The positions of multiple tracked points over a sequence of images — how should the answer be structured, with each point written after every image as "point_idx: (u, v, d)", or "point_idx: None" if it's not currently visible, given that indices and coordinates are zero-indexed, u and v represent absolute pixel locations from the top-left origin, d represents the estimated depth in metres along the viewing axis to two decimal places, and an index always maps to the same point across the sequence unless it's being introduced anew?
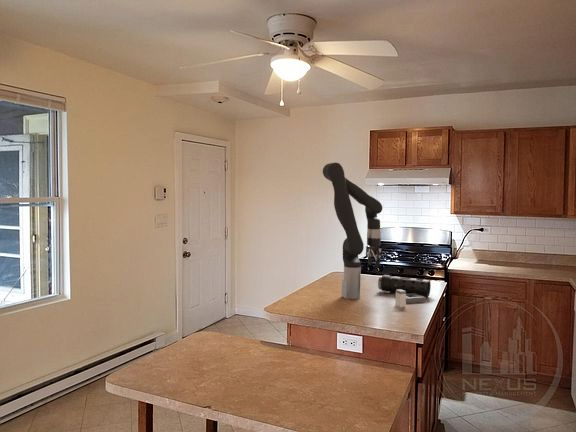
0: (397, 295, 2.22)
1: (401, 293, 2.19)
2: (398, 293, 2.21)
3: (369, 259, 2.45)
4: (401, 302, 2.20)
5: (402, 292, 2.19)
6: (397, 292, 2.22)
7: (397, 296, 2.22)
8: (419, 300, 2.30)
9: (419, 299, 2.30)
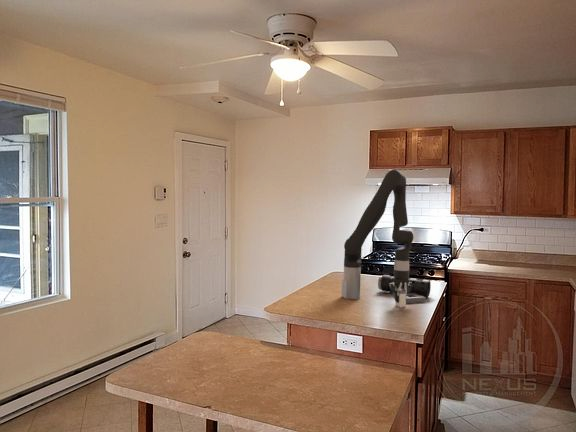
0: None
1: (401, 293, 2.19)
2: None
3: None
4: (401, 302, 2.20)
5: (402, 292, 2.19)
6: None
7: None
8: (419, 300, 2.30)
9: (419, 299, 2.30)
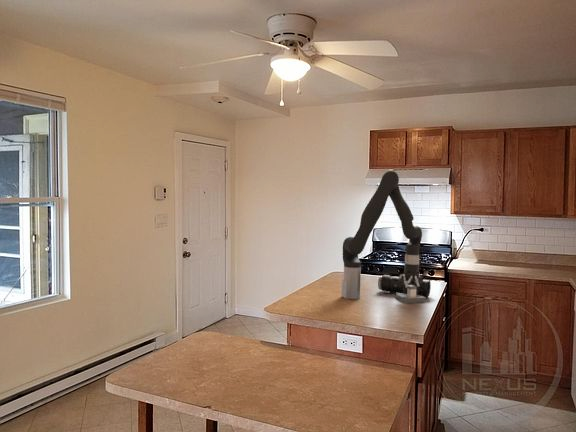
0: (408, 290, 2.34)
1: (411, 288, 2.31)
2: (409, 288, 2.33)
3: None
4: None
5: (413, 287, 2.31)
6: (408, 287, 2.34)
7: (408, 291, 2.34)
8: (419, 300, 2.30)
9: (419, 299, 2.30)
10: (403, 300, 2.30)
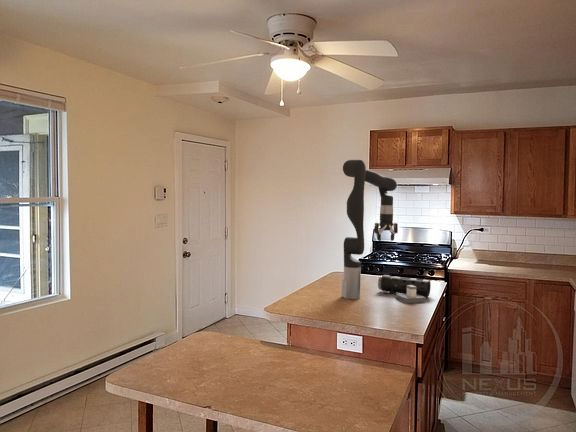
0: (408, 290, 2.34)
1: (411, 288, 2.31)
2: (409, 288, 2.33)
3: None
4: None
5: (413, 287, 2.31)
6: (408, 287, 2.34)
7: (408, 291, 2.34)
8: (419, 300, 2.30)
9: (419, 299, 2.30)
10: (403, 300, 2.30)
